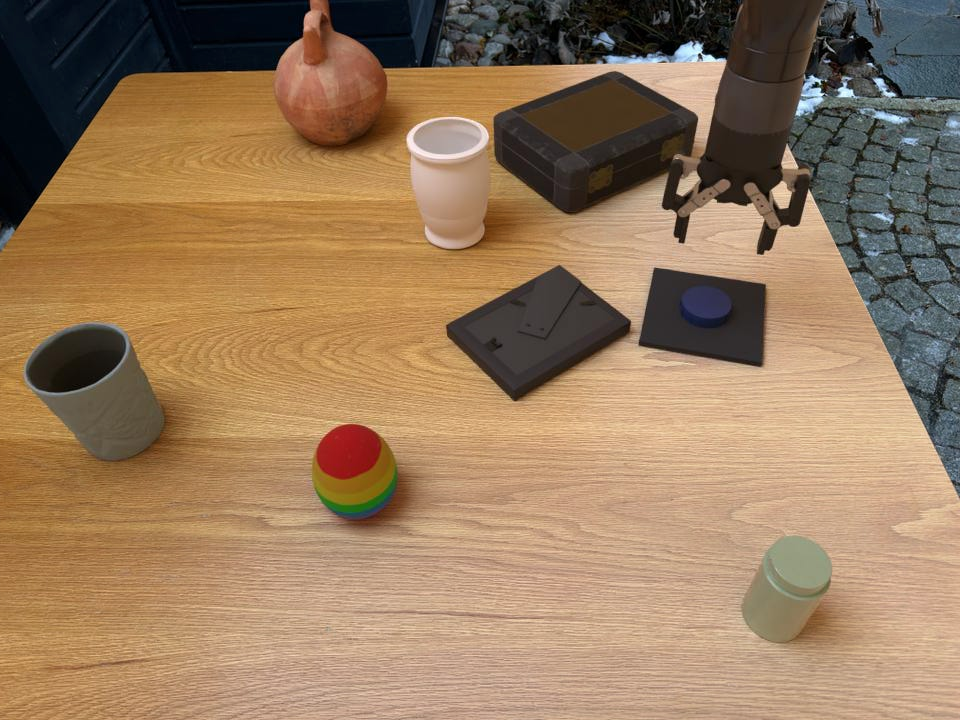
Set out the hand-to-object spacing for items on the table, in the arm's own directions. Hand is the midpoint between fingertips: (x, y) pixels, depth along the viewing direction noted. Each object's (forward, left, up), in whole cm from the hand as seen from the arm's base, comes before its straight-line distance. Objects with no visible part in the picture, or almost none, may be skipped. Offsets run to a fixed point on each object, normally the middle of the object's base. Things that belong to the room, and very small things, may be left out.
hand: (720, 244), depth 84 cm
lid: (0, 0, -9) cm, 9 cm away
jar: (+35, -9, -11) cm, 38 cm away
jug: (+63, -32, -11) cm, 71 cm away
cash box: (+20, -32, -11) cm, 39 cm away
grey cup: (+60, +34, -11) cm, 70 cm away
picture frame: (+19, +8, -11) cm, 23 cm away
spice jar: (-9, +37, -11) cm, 40 cm away
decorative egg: (+31, +35, -11) cm, 48 cm away
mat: (0, 0, -11) cm, 11 cm away
